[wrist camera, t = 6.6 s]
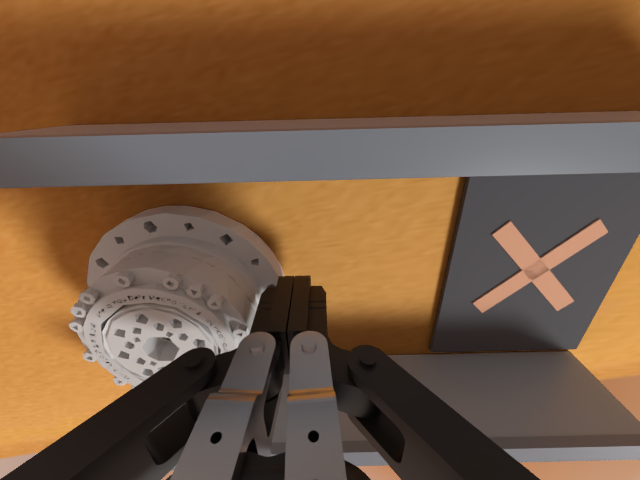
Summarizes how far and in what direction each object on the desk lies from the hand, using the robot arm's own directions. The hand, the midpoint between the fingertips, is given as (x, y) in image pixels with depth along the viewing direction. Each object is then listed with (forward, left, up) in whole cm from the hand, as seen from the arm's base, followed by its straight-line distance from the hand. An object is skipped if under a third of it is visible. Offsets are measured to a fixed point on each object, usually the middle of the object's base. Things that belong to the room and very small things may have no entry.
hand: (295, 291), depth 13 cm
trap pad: (-12, 0, -2) cm, 13 cm away
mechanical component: (+6, +1, -2) cm, 6 cm away
